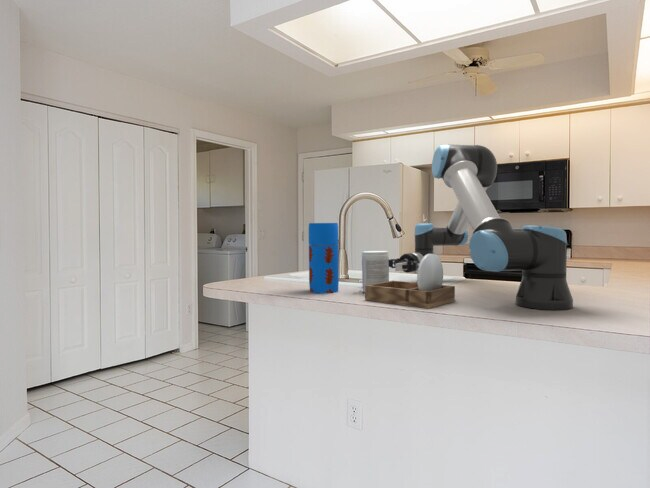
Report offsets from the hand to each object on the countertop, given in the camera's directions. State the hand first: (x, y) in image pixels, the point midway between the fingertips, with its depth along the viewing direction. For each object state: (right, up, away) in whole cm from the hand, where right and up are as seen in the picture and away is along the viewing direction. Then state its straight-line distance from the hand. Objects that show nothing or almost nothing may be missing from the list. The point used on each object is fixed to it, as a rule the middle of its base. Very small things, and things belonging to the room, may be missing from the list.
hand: (380, 266), depth 164 cm
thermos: (-21, -9, +1) cm, 23 cm away
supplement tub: (-2, -9, -3) cm, 10 cm away
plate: (+12, -9, -27) cm, 31 cm away
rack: (+7, -10, -21) cm, 25 cm away
